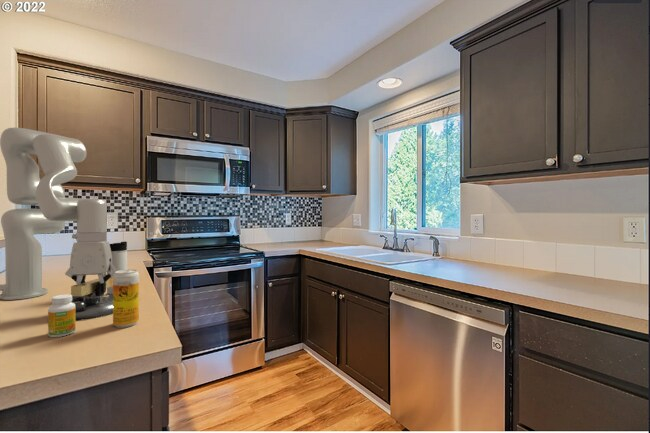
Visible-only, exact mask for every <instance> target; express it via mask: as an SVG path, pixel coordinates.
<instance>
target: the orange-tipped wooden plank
mask: <svg viewBox="0 0 650 433" xmlns="http://www.w3.org/2000/svg"><path fill="white" fill-rule="evenodd" d="M98 284H99V278H98V277H97V278H95V279H92V280H89V281H88V280H87V281H85V282H84V283H80V284H74V285H71V286H70V295H72V296H84V301H85V305H92V304H97V303H100V296H98ZM112 286H113V276H112V277H111V278H109V279H108V280H107V281H106V289H107V288H108V287H112Z"/></svg>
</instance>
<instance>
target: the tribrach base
mask: <svg viewBox="0 0 650 433" xmlns="http://www.w3.org/2000/svg"><path fill="white" fill-rule="evenodd" d="M71 302H72V303H74V304H75V307H76V310H75V321H82V320H81V319H84V320H89V319H97V318H102V317H105V316H106V317H107V316H109V315H113V296H109V295H107V294H104V295H101V296H100V303H97V304H92V305H85V301H84V296H83V297H79V296H72V301H71ZM101 316H102V317H101ZM96 317H97V318H96Z"/></svg>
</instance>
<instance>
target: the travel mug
mask: <svg viewBox="0 0 650 433" xmlns="http://www.w3.org/2000/svg"><path fill="white" fill-rule="evenodd" d="M109 244H110V248H111V254H112V264H113V265H114V266H115V268H116V269H117V270H118V271H120V270H128V242H127V241H121V242H114V243H109ZM110 272H111V271H108V272H106V274H109V273H110ZM113 276H114V275H113ZM106 295H109V296H113V286H112V287H108V288H106Z"/></svg>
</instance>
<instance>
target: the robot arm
mask: <svg viewBox="0 0 650 433" xmlns="http://www.w3.org/2000/svg"><path fill="white" fill-rule="evenodd" d="M0 150H1V153H2V154H1V155H2V157H3V158H4V161H5V166H6V196H7V199H8V201H9V202H10V203H12V204H14V205H15V204H16V205H22V206H23V205H25V206H38V208H14V209H13V208H12V209H9V210H7V211H5V212H4V213H2V216H1V219H0V223H1V228H2V232H3V238H4V247H5V248H4V249H5V250H4V251H5V252H4V253H5V259H4V260H5V284H0V291H1V294H0V300H4V301H14V300H15V301H16V300H24V299H29V298H31V299H32V298H35V297H39V296H44V295H46V294H47V293H48V291H49V290H48V288H46V287H43V247H42V244H41V242H40V241H39V240H38V239H37V238H36V237H35V235H45V234H46V235H47V234H57V233H58V234H59V233H60V232H62V231H63V229H64V228H65V224H66V222H76V233H75V234H74V233H73V234H72V235H71V238H72V239H75V240H76V242H73V244H72V249H71V252H70V260H69V268H68V269H67V270H66V272H64V274H65V276H67V277H69V278H71V279H72V280H73V281H74V282H75V283H76V284H75V285H77V284H80V283H84V282H86V279H87V276H90V275H91V276H92V275H93V276H97V279H98V278H99V284H98V296H104V295H105V293H107V288H106V281H107V280H108V279H109V278H111V277H112V276H113V275H114V274H115V272H116V271H118V270H117V269H116V268H115V266H114V265H113V264H112V254H111V248H110V244H111V243H110V242H109V241H107V240H108V239H107V238H108V236H107V228H108V226H107V224H108V223H107V221H108V219H107V218H108V217H107V216H108V215H107V214H108V213H107V212H108V211H107V210H108V208H107V206H108V205H107V201H106V200H104V199H100V198H83V197H81V198H80V197H79V198H78V197H66V193H65V190H64V187H63V186H62V185H63V184H65V183H68V182H70V181H72V180H74V179H75V178H76V177H77V175H78V170H77V168H76V166H75V163H83V161H84V160H86V158H87V152H88V151H87V148H86V146H85V145H84V143H83V142H82V141H81V140H80V139H77V138H72V137H67V136H63V135H59V134H55V133H49V132H45V131H40V130H34V129H30V128H24V127H8V128H6V129H4V130H3V131H2V132H1V135H0ZM31 155H36V158H37V160H38V163H39V164H40V166H39V164H38V163H37V161H35V159H34V158H33V157H32V156H31ZM40 167H41V170H42V172H43V174H44V176H43V177H42V178H40ZM108 271H111V272H110V273H109V274H107V272H108ZM79 297H83V296H79Z"/></svg>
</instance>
